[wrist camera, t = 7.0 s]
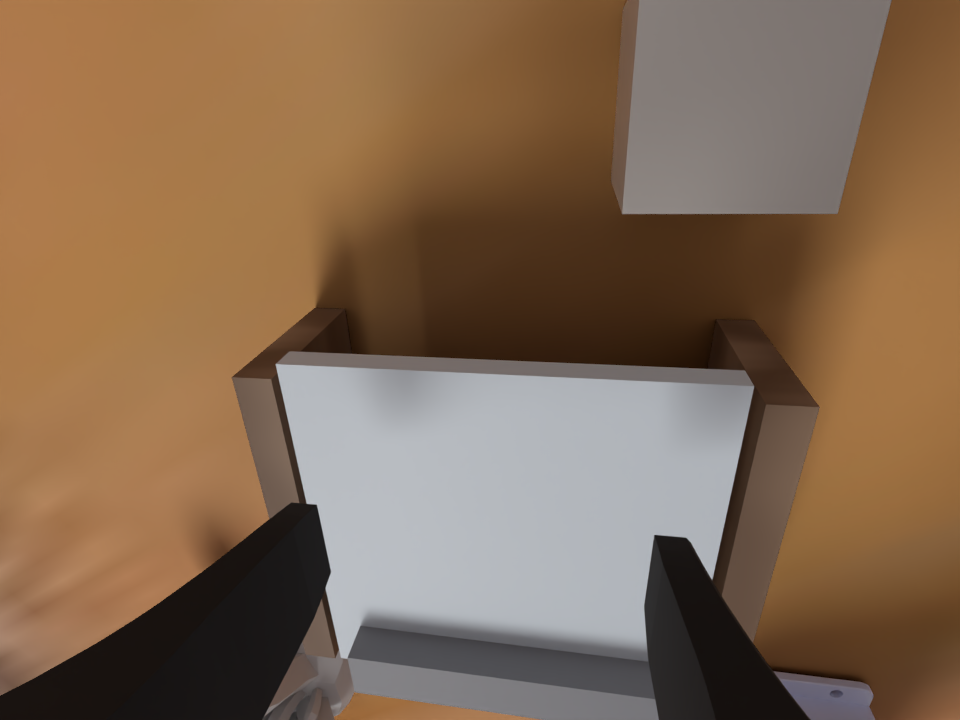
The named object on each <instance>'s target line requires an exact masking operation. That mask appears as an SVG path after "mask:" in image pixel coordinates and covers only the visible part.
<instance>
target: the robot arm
mask: <svg viewBox="0 0 960 720" xmlns="http://www.w3.org/2000/svg"><path fill="white" fill-rule="evenodd" d="M330 574H331V569H330V564H329V559H328V555H327V550H326V545H325V541H324V536H323V531H322V526H321V522H320V517H319V512H318V508H317V505H315V504H303V503H292V502H291V503H290V504H289V505H287V506H286V507H285V508H283V509H282V510H281V511H279V512H278V513H277V514H276V515H274V516H273V517H272V518H270V519H269V520H268V521H267V522H265V523H264V524H263V525H262V526H260V527H259V528H258V529H257V530H255V531H254V532H253V533H252V534H250V535H249V536H248V537H247V538H245V539H244V540H243V541H242V542H240V543H239V544H238V545H237V546H235V547H234V548H233V549H231V550H230V551H229V552H228V553H226V554H225V555H224V556H222V557H221V558H220V559H219V560H217V561H216V562H215V563H213V564H212V565H211V566H210V567H208V568H207V569H206V570H204V571H203V572H202V573H200V574H199V575H197V576H196V577H195V578H193V579H192V580H190V581H189V582H188V583H186V584H185V585H184V586H182V587H181V588H179V589H178V590H177V591H175V592H174V593H172V594H171V595H170V596H168V597H167V598H166V599H164V600H163V601H161V602H160V603H159V604H157V605H156V606H154V607H153V608H151V609H150V610H148V611H147V612H145V613H144V614H142V615H141V616H139V617H138V618H136V619H135V620H133V621H132V622H130V623H128V624H127V625H125V626H124V627H122V628H120V629H119V630H117V631H116V632H114V633H112V634H111V635H109V636H108V637H106V638H104V639H103V640H101V641H100V642H98V643H96V644H94V645H93V646H91V647H89V648H88V649H86V650H84V651H82V652H80V653H79V654H77V655H75V656H73V657H72V658H70V659H68V660H66V661H64V662H63V663H61V664H59V665H57V666H55V667H54V668H52V669H50V670H48V671H47V672H45V673H43V674H41V675H39V676H38V677H36V678H34V679H32V680H30V681H28V682H26V683H24V684H22V685H21V686H19V687H17V688H15V689H13V690H11V691H9V692H7V693H5V694H3V695H1V696H0V720H263V718H264V716H265V714H266V712H267V710H268V708H269V706H270V704H271V702H272V700H273V698H274V696H275V694H276V692H277V690H278V688H279V686H280V685H281V683H282V681H283V679H284V677H285V675H286V673H287V671H288V669H289V667H290V665H291V663H292V661H293V659H294V657H295V655H296V653H297V651H298V649H299V648H300V646H301V644H302V642H303V640H304V638H305V636H306V634H307V632H308V630H309V628H310V626H311V624H312V622H313V620H314V617H315V615H316V612H317V610H318V607H319V605H320V602H321V599H322V597H323V594H324V591H325V588H326V585H327V582H328V580H329V577H330ZM644 613H645V627H646V640H647V653H648V661H649V667H650V673H651V679H652V684H653V690H654V695H655V701H656V706H657V712H658V717H659V720H875V718H874V716H873V714H872V711H871V709H870V707H869V706H870V703H871V701H872V699H873V693H872V691H871V689H870V687H869V685H867V684H865V683H862V682H857V681H849V680H841V679H833V678H825V677H817V676H808V675H800V674H792V673H784V672H776V671H773V670H772V669H771V668H770V666H769V665H768V664H767V662H766V661H765V660H764V658H763V657H762V655H761V654H760V653H759V651H758V650H757V648H756V647H755V645H754V644H753V643H752V641H751V640H750V638H749V637H748V635H747V634H746V632H745V631H744V629H743V628H742V626H741V625H740V623H739V622H738V620H737V619H736V617H735V616H734V614H733V613H732V611H731V610H730V608H729V607H728V605H727V604H726V602H725V600H724V599H723V597H722V596H721V594H720V592H719V591H718V589H717V587H716V586H715V584H714V583H713V581H712V579H711V577H710V576H709V574H708V572H707V571H706V569H705V567H704V565H703V564H702V562H701V560H700V558H699V557H698V555H697V553H696V551H695V549H694V547H693V545H692V544H691V542H690V541H689V540H688V539H687V538H685V537H674V536H663V535H654V540H653V547H652V554H651V561H650V568H649V575H648V582H647V589H646V596H645V603H644Z"/></svg>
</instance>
